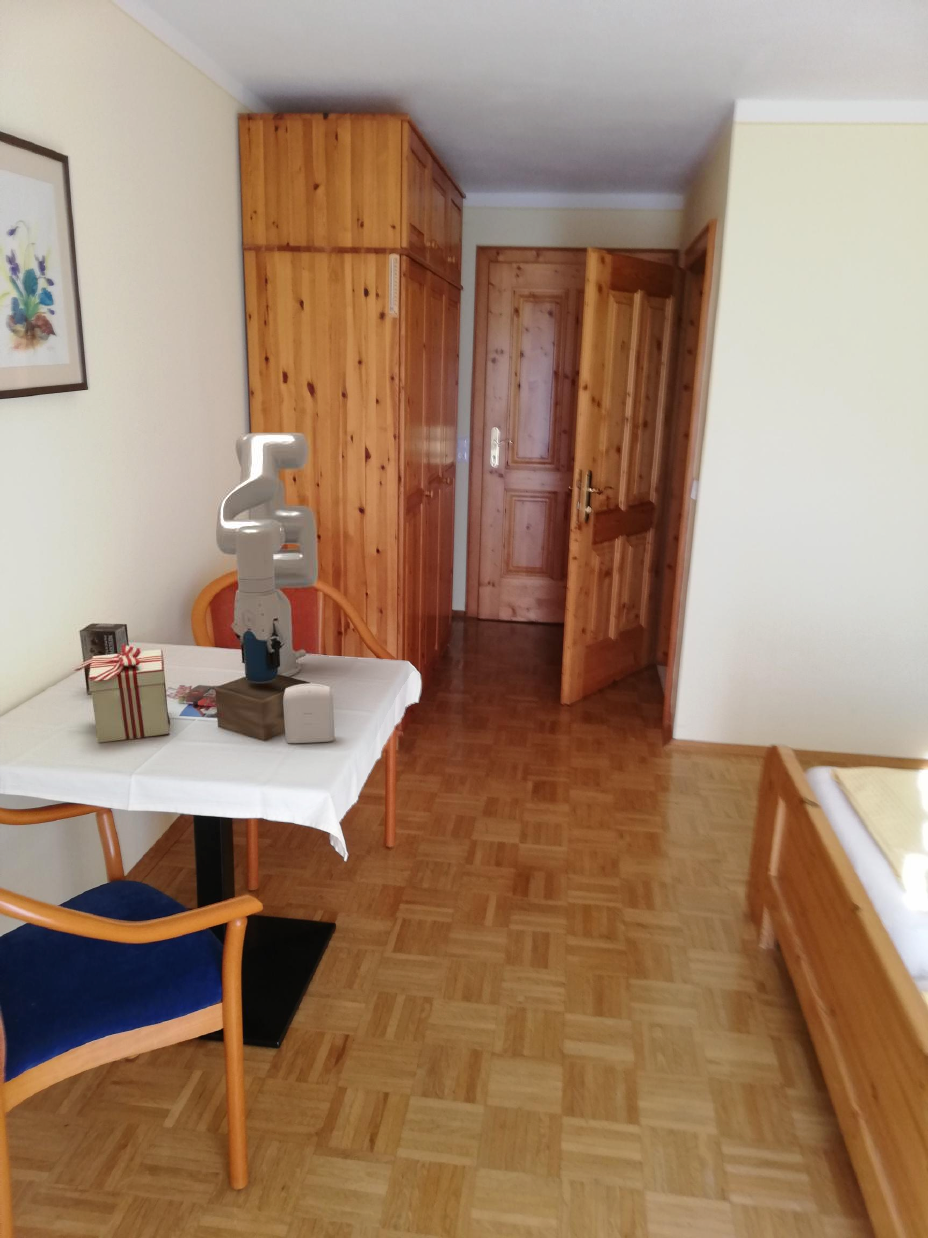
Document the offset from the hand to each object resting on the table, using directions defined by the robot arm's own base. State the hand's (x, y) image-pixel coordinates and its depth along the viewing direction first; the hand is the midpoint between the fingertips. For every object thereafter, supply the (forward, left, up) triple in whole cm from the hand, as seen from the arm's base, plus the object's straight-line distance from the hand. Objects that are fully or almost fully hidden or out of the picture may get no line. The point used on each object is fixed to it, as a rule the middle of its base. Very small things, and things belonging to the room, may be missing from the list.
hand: (261, 664), depth 200 cm
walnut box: (0, 0, -14) cm, 14 cm away
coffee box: (+6, -46, -14) cm, 48 cm away
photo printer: (+1, +15, -14) cm, 20 cm away
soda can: (0, 0, -3) cm, 3 cm away
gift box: (+19, -22, -14) cm, 32 cm away
